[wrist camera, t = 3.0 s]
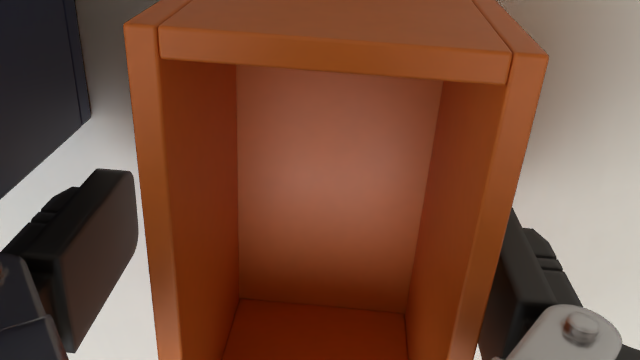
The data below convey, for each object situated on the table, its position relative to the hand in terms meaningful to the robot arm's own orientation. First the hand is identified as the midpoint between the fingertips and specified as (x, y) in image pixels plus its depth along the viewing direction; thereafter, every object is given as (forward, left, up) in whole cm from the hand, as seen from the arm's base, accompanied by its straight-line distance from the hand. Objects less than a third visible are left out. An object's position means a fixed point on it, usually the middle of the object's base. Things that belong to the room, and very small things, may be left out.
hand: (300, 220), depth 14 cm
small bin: (-1, 0, -3) cm, 3 cm away
